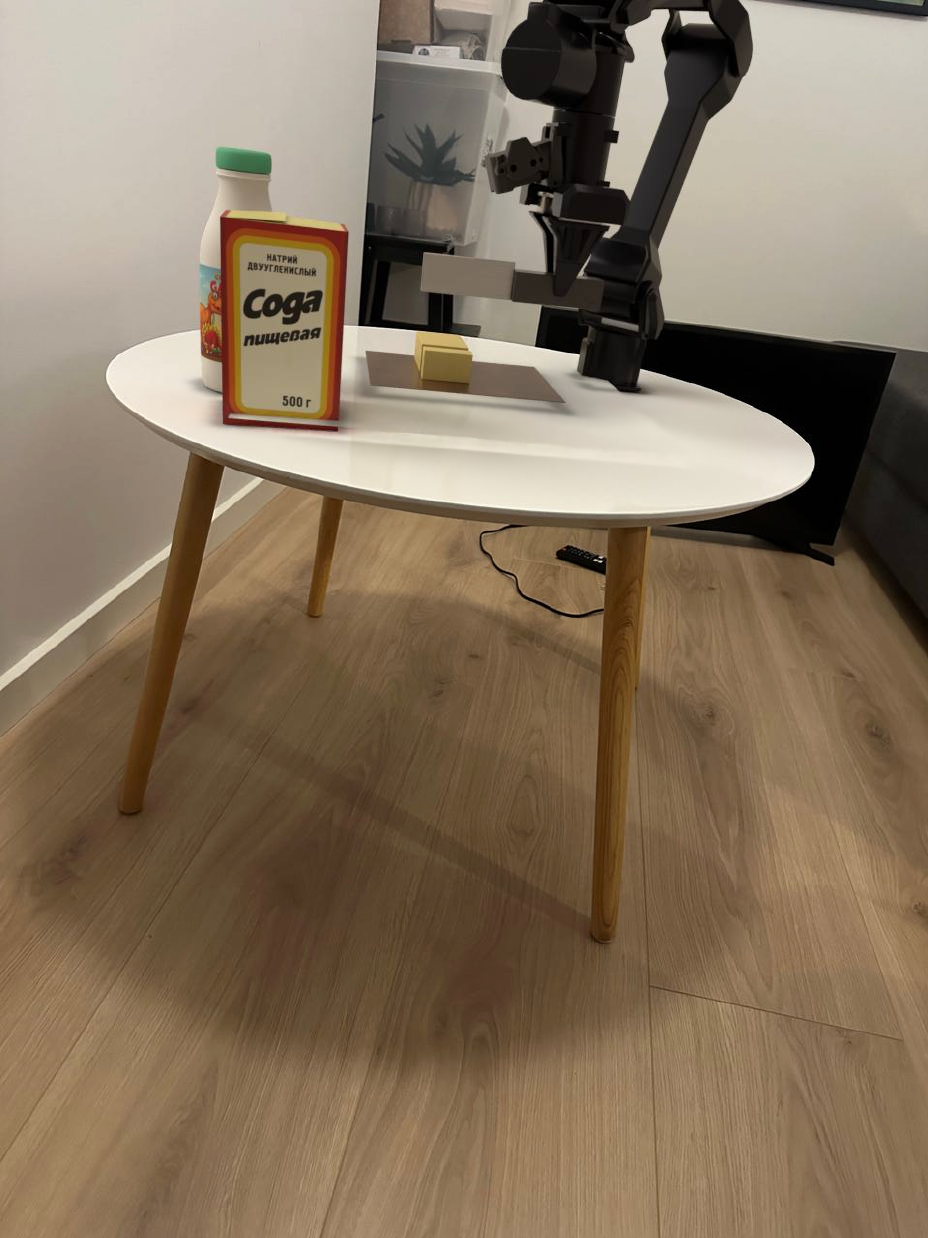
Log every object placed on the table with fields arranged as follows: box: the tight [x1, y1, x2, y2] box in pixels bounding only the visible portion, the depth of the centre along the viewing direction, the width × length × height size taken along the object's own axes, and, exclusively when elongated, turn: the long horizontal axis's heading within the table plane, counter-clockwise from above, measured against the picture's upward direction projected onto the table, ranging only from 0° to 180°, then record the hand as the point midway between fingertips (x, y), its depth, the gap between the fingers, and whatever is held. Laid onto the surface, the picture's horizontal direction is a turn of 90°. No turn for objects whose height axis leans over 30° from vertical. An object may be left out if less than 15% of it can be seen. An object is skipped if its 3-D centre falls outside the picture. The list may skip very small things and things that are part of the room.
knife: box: [420, 251, 605, 311], centre depth 84 cm, size 18×2×4 cm, turn 98°
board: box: [365, 350, 567, 404], centre depth 93 cm, size 20×16×1 cm
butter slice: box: [421, 347, 474, 384], centre depth 89 cm, size 5×2×3 cm, turn 98°
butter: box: [413, 330, 469, 372], centre depth 94 cm, size 5×7×3 cm
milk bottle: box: [198, 146, 274, 393], centre depth 77 cm, size 8×8×20 cm
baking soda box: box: [220, 210, 350, 433], centre depth 71 cm, size 10×6×16 cm
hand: (555, 293), depth 85 cm, fingers closed on knife, 2 cm apart
